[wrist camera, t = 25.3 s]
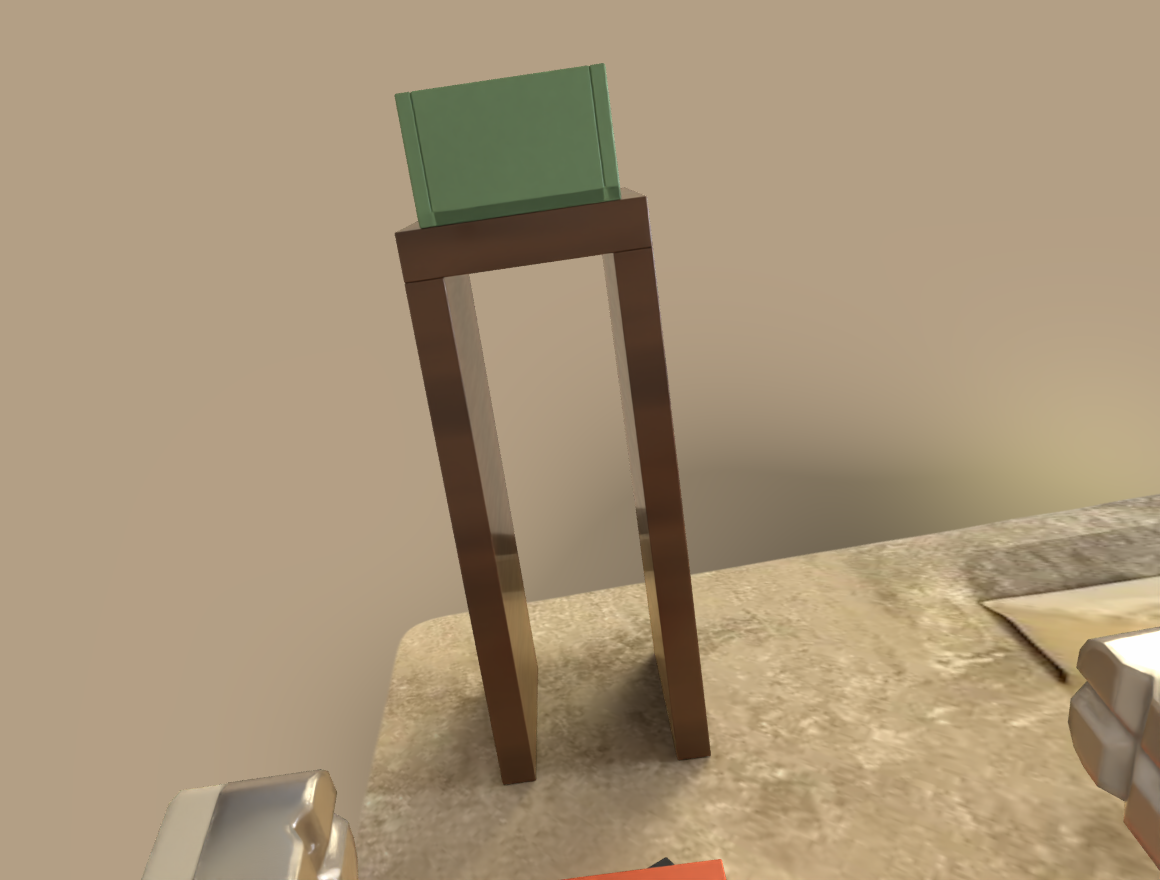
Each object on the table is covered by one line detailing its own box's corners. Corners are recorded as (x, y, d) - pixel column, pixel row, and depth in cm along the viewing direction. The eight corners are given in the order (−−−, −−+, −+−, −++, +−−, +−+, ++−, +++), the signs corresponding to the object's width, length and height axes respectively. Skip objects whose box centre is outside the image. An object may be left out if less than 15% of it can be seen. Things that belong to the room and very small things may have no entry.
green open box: (621, 199, 36) (605, 62, 34) (419, 228, 36) (393, 93, 34) (606, 190, 45) (592, 83, 44) (446, 213, 45) (427, 107, 44)
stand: (711, 755, 44) (647, 195, 36) (502, 785, 44) (394, 232, 36) (681, 648, 53) (626, 187, 45) (510, 672, 53) (426, 216, 45)
